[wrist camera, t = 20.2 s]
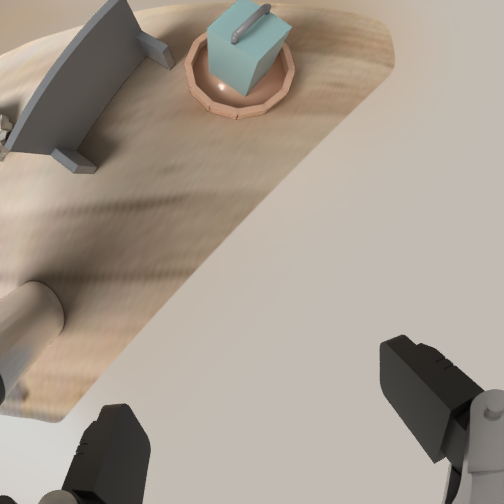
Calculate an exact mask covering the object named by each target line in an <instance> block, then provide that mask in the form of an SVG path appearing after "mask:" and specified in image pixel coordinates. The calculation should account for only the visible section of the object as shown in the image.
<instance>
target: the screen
mask: <svg viewBox="0 0 504 504" xmlns="http://www.w3.org/2000/svg"><path fill="white" fill-rule="evenodd" d="M146 56H147V57H149V58H151V59H152V60H154V61H156V62H157V63H159V64H161V65H162V66H164V67H166V68H167V69H169V70H170V69H171V68H172V67H173V66H174V65H175V63H174V60H173V57H172V55H171V52H170V49H169V46H168V45H167V44H165V43H163V42H161V41H160V40H158V39H156V38H154V37H152V36H150V35H149V34H147V33H145V32H143V31H142V30H141V28H140V26H139V24H138V22H137V20H136V18H135V16H134V14H133V12H132V10H131V8H130V7H129V4H128V3H127V1H126V0H108V1H107V3H106V4H104V5H103V6H102V8H101V9H100V10H99V11H98V12H97V13H96V14H95V15H94V16H93V17H92V18H91V19H90V20H89V21H88V23H87V24H86V25H85V26H84V27H83V28H82V29H81V30H80V32H79V33H78V34H77V35H76V36H75V38H74V39H73V40H72V41H71V42H70V44H69V45H68V46H67V47H66V49H65V50H64V51H63V53H62V54H61V55H60V56H59V58H58V59H57V60H56V62H55V63H54V64H53V66H52V67H51V69H50V70H49V71H48V73H47V74H46V76H45V77H44V79H43V80H42V82H41V83H40V85H39V86H38V88H37V89H36V91H35V92H34V94H33V95H32V97H31V99H30V100H29V102H28V104H27V105H26V107H25V109H24V110H23V112H22V114H21V115H20V117H19V119H18V121H17V123H16V124H15V126H14V128H13V130H12V132H11V134H10V136H9V138H8V140H7V142H6V144H5V146H4V147H5V148H6V149H8V150H9V151H11V152H23V153H34V154H44V155H51V156H52V157H53V158H54V159H56V160H57V161H58V162H59V163H61V164H62V165H63V166H65V167H66V168H67V169H68V170H70V171H71V172H72V173H78V174H94V172H95V171H96V169H97V168H98V167H97V166H96V165H94V164H93V163H92V162H90V161H89V160H88V159H86V158H85V157H84V156H82V155H81V154H80V153H78V152H77V149H78V148H79V146H80V144H81V143H82V141H83V140H84V138H85V137H86V135H87V133H88V132H89V130H90V129H91V127H92V126H93V124H94V123H95V122H96V120H97V119H98V117H99V116H100V114H101V113H102V111H103V110H104V109H105V107H106V106H107V105H108V103H109V102H110V100H111V99H112V98H113V96H114V95H115V94H116V93H117V91H118V90H119V89H120V87H121V86H122V85H123V84H124V82H125V81H126V80H127V79H128V77H129V76H130V75H131V74H132V72H133V71H134V70H135V69H136V68H137V66H138V65H139V64H140V63H141V62H142V61H143V59H144V58H145V57H146Z"/></svg>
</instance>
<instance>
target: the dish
mask: <svg viewBox="0 0 504 504" xmlns="http://www.w3.org/2000/svg"><path fill="white" fill-rule="evenodd" d="M184 63H185V64H184V65H185V70H186V75H187V79H188V84H189V88H190V92H191V94H192V95H193V96H194V97H195V98H196V99H197V100H198V101H199V102H200V103H201V104H202V105H203V106H204V107H205V108H206V109H207V110H208V111H210V112H211V113H215V114H218V115H222V116H226V117H229V118H232V119H236V118H237V119H242V118H247V117H252V116H258V115H263V114H265V113H266V112H267V111H268V110H270V109H271V108H272V107H273V106H274V105H276V104H277V103H278V102H279V101H281V100H282V99H283V98H284V97H285V96H286V94H287V93H288V91H289V88H290V85H291V82H292V79H293V76H294V73H295V66H294V62H293V59H292V55H291V52H290V49H289V47H288V45H287V44H286V43H285V42H284V43H283V45H282V47H281V49H280V51H279V53H278V55H277V57H276V59H275V61H274V63H273V64H272V66H271V68H270V70H269V71H268V72H267V73H266V74H265V75H264V76H263V78H262V79H261V80H260V81H259V82H258V83H257V84H256V85H255V86H254V88H253V89H252V90H251V91H250V92H249V93H248V94H247V96H246V97H244V96H243V95H241V94H240V93H238V92H237V91H236V90H234V89H233V88H231V87H230V86H228V85H227V84H226V83H224V82H223V81H221V80H220V79H218V78H217V77H215V76H214V75H212V74H211V73H209V61H208V43H207V31H206V32H205V33H203V34H202V35H200V36H199V37H198V38H196V39H195V41H193V44H192V46H191V48H190V51H189V53H188V55H187V58H186V60H185V62H184Z"/></svg>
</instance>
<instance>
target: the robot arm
mask: <svg viewBox="0 0 504 504" xmlns="http://www.w3.org/2000/svg"><path fill="white" fill-rule="evenodd" d="M63 326H64V312H63V309H62V305H61V303H60V301H59V299H58V298H57V296H56V295H55V294H54V293H53V291H52V290H51V289H50V288H48V287H47V286H46V285H44V284H42V283H40V282H36V281H30V282H27V283H25V284H23V285H22V286H20V287H19V288H17V289H15V290H14V291H12V292H11V293H9V294H8V295H6V296H5V297H3V298H2V299H0V405H1V404H2V402H3V401H4V400H5V398H6V397H7V396H8V394H9V393H10V392H11V391H12V389H13V388H14V387H15V385H16V384H17V383H18V382H19V380H20V379H21V378H22V377H23V375H24V374H25V373H26V372H27V371H28V369H29V368H30V367H31V366H32V365H33V363H34V362H35V361H36V360H37V359H38V358H39V356H40V355H41V354H42V353H43V352H44V351H45V349H46V348H47V347H48V346H49V345H50V344H51V343H52V342H53V340H54V339H55V338H56V337H57V336H58V335H59V334H60V332H61V331H62V329H63ZM380 384H381V389H382V391H383V394H384V396H385V397H386V398H387V400H388V401H389V403H390V404H391V405H392V407H393V408H394V409H395V411H396V412H397V413H398V415H399V416H400V417H401V419H402V420H403V422H404V423H405V424H406V426H407V427H408V428H409V430H410V431H411V432H412V434H413V435H414V436H415V437H416V439H417V441H418V442H419V443H420V445H421V446H422V447H423V449H424V450H425V452H426V453H427V454H428V456H429V457H430V458H431V460H432V461H433V463H434V464H435V463H436V462H438V461H440V460H442V459H443V458H445V457H447V459H448V460H449V461H450V465H449V468H448V475H447V481H446V486H445V491H444V497H443V501H442V504H504V391H503V390H497V389H493V390H488V391H484V390H483V389H482V388H481V387H480V386H478V385H477V384H476V383H475V382H473V380H472V379H470V378H469V377H468V376H467V375H466V374H465V373H463V372H462V371H461V370H460V369H459V368H458V367H457V366H454V365H453V363H452V362H451V361H450V360H448V359H445V356H443V355H442V354H441V353H440V352H439V351H438V350H437V349H435V348H433V347H430V346H428V345H425V344H422V343H420V344H418V345H416V344H415V343H413V342H412V341H411V340H410V339H409V338H408V337H407V336H405V335H400V336H398V337H395V338H392V339H390V340H387V341H384V342H382V343H381V344H380ZM150 452H151V448H150V442H149V439H148V436H147V434H146V433H145V431H144V430H143V428H142V426H141V425H140V423H139V422H138V420H137V418H136V417H135V415H134V413H133V412H132V410H131V408H130V407H129V405H127V404H114V405H105V406H103V407H102V409H101V412H100V414H99V417H98V419H97V421H93V423H91V425H90V426H89V427H88V428H87V429H86V430H85V431H84V433H83V436H82V438H81V441H80V445H79V446H78V448H77V450H76V455H74V458H73V460H72V463H71V465H70V468H69V471H68V473H67V476H66V478H65V481H64V484H63V486H62V489H61V490H55V491H52V492H49V493H47V494H46V495H44V497H42V499H41V500H40V502H39V503H38V504H142V502H143V496H144V489H145V483H146V476H147V470H148V464H149V458H150ZM0 504H17V503H16V502H15V501H14V500H13V499H12V498H10V497H9V496H5V495H4V496H3V495H1V496H0Z"/></svg>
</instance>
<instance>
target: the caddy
mask: <svg viewBox="0 0 504 504" xmlns="http://www.w3.org/2000/svg"><path fill="white" fill-rule="evenodd" d="M270 9H271V5H270V4H264V5H262V6H259V5H258V4H256V3H254V2H253V1H251V0H238V1H237V2H235V3H234V4H233V5H232V6H231V7H230V8H229V9H227V10H226V11H225V12H224V13H223V14H222V15H221V16H220V17H219V18H218V19H216V20H215V21H214V22H213V23H212V24H211V25H210V26H209V27H208V28H207V43H208V61H209V73H211V74H212V75H214V76H215V77H217V78H218V79H220V80H221V81H223V82H224V83H226V84H227V85H228V86H230V87H231V88H233V89H234V90H236V91H237V92H238V93H240V94H241V95H243V96H244V97H246V96H247V94H248V93H249V92H250V91H251V90H252V89H253V88H254V86H255V85H256V84H257V83H258V82H259V81H260V80H261V79H262V78H263V76H264V75H265V74H266V73H267V72H268V71H269V70H270V68H271V66H272V64H273V63H274V61H275V59H276V57H277V55H278V53H279V51H280V49H281V47H282V45H283V43H284V42H285V40H286V38H287V36H288V34H289V32H290V30H291V29H292V26H290V25H289V24H287V23H286V22H284V21H283V20H281V19H280V18H278V17H277V16H275V15H274V14H272V13H271V12H269V11H270Z"/></svg>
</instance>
